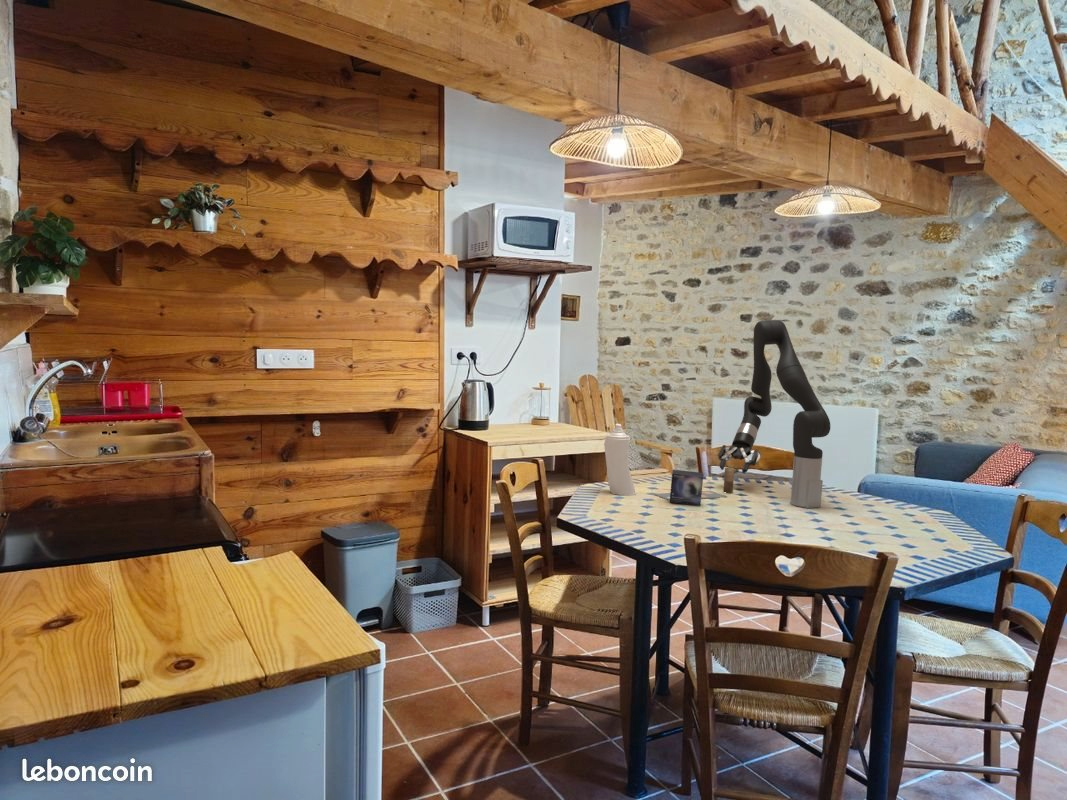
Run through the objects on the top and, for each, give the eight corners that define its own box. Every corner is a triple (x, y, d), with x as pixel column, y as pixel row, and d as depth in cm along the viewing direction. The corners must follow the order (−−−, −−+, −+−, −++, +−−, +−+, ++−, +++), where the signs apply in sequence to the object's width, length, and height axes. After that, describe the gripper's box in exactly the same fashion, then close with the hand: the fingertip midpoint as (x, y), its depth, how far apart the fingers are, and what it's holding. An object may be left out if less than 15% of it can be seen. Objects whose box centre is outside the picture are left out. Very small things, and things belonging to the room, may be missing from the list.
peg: (734, 493, 261) (736, 469, 260) (727, 493, 260) (728, 469, 259) (728, 491, 264) (730, 467, 264) (721, 491, 263) (723, 468, 262)
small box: (669, 502, 240) (671, 472, 238) (669, 498, 246) (672, 469, 245) (700, 506, 237) (703, 476, 236) (700, 501, 244) (703, 472, 242)
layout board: (727, 497, 253) (727, 496, 253) (669, 500, 243) (669, 500, 243) (710, 491, 262) (710, 490, 262) (653, 494, 253) (653, 493, 253)
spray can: (613, 496, 246) (617, 426, 244) (597, 490, 256) (600, 422, 254) (640, 494, 252) (644, 425, 250) (623, 488, 261) (627, 422, 259)
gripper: (725, 429, 274) (712, 461, 266) (761, 433, 265) (748, 466, 257) (729, 441, 279) (716, 473, 270) (765, 445, 270) (752, 479, 262)
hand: (732, 470), depth 264 cm, fingers open, 8 cm apart
